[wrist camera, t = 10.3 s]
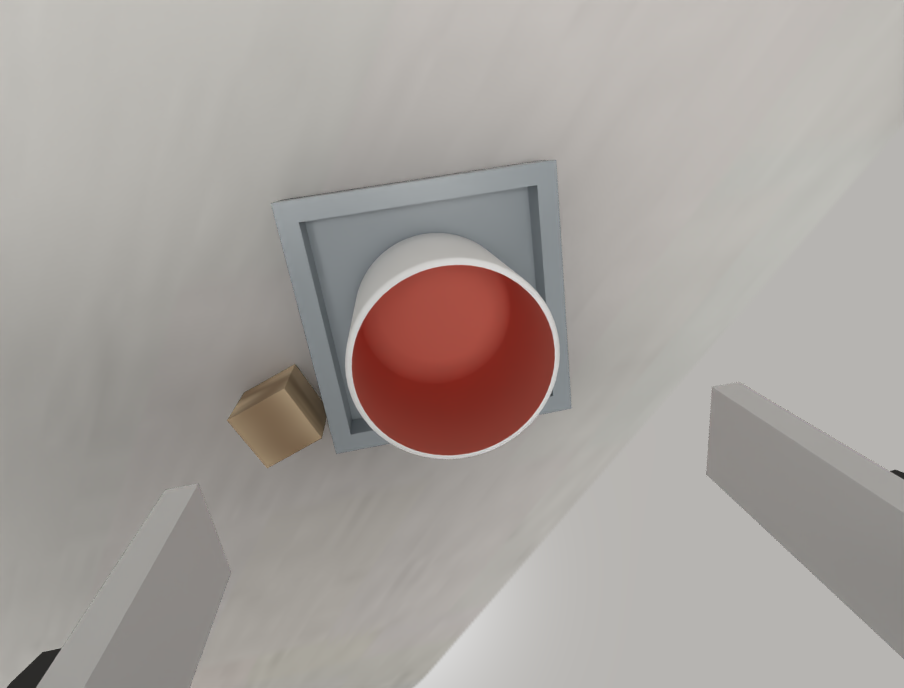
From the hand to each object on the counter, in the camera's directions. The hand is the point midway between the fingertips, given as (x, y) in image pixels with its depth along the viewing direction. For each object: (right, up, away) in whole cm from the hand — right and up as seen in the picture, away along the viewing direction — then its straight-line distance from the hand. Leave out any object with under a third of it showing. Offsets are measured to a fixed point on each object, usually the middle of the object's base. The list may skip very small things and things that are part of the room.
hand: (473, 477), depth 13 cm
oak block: (-12, -1, +21) cm, 24 cm away
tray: (-2, +6, +20) cm, 21 cm away
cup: (-2, +6, +20) cm, 20 cm away
